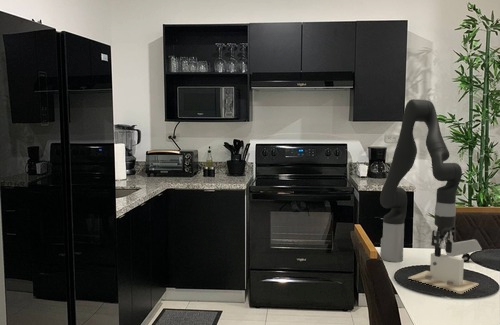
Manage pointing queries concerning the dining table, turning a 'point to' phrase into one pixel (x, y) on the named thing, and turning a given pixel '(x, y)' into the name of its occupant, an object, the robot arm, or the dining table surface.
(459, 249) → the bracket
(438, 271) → the door panel
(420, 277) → the light brown flat board
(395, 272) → the dining table surface
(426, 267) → the dining table surface
